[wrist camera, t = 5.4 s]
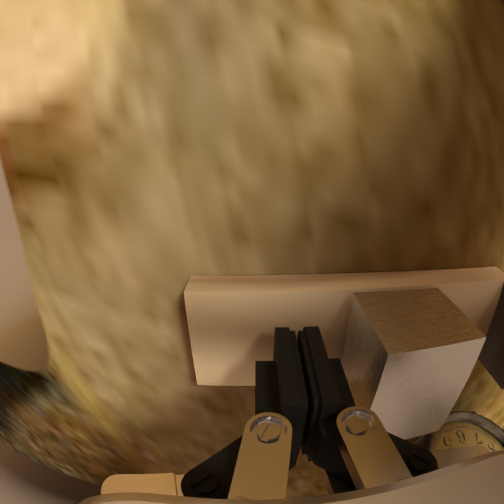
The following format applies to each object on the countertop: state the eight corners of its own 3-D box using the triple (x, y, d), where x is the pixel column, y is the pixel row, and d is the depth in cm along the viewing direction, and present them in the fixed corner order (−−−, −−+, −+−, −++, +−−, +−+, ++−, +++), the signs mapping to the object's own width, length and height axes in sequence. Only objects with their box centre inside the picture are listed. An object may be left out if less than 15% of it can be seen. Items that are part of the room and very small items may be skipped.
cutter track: (190, 275, 13) (164, 337, 9) (502, 266, 13) (552, 303, 9) (201, 364, 15) (188, 434, 11) (478, 340, 15) (515, 384, 11)
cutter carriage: (353, 292, 11) (388, 354, 8) (447, 286, 11) (497, 334, 8) (336, 385, 13) (354, 450, 10) (420, 374, 13) (450, 426, 10)
